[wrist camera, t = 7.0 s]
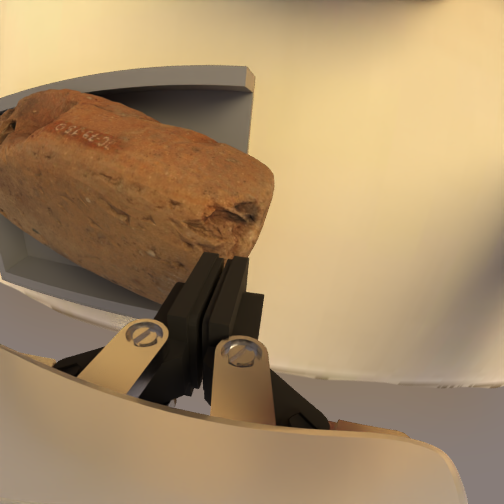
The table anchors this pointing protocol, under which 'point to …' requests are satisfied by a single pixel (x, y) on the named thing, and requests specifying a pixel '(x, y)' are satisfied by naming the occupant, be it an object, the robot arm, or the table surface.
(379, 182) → the table surface
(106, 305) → the tray
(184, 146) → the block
